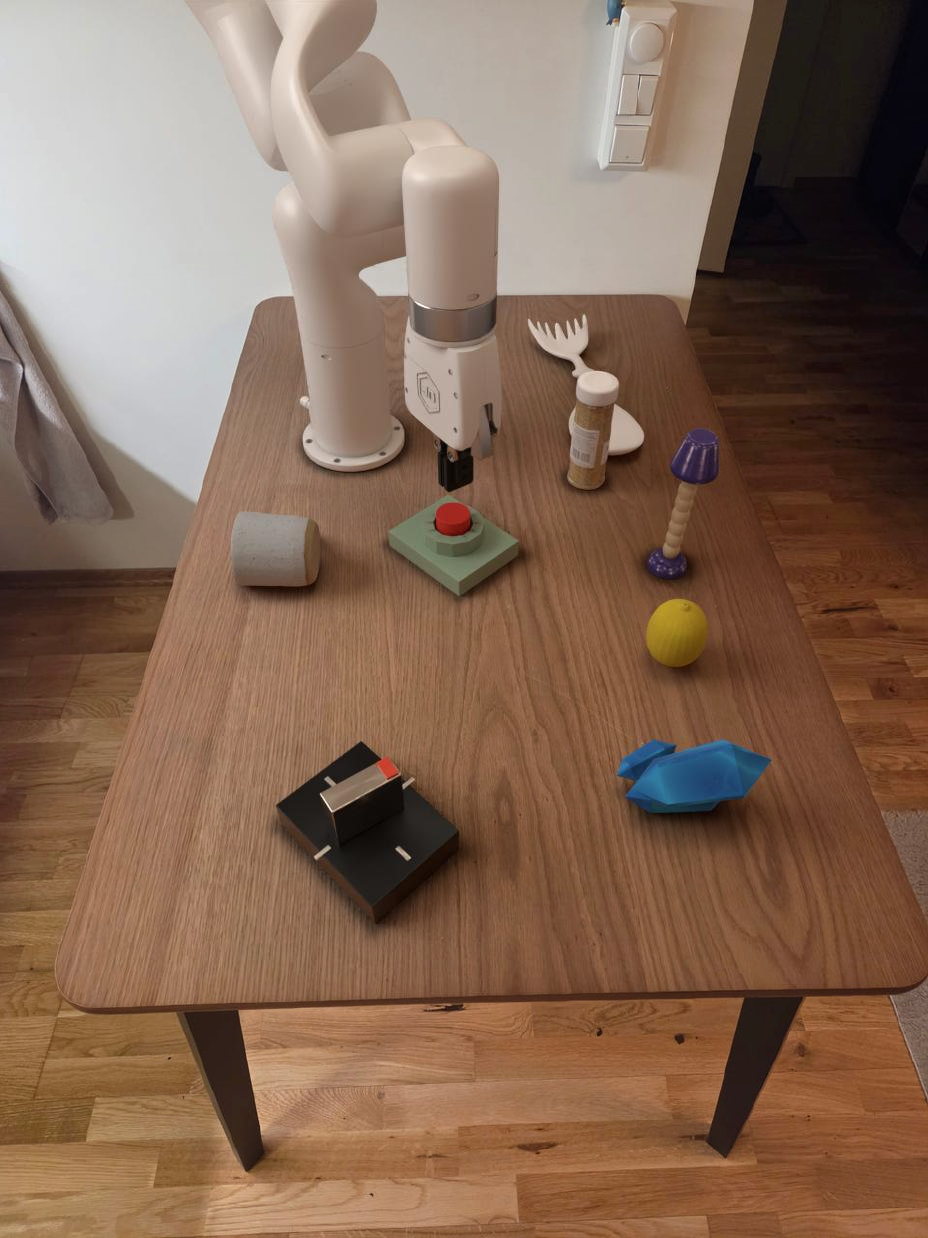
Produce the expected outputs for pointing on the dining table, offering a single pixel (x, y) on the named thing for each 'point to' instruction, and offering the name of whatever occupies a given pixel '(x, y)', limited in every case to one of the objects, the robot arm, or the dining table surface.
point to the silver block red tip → (363, 800)
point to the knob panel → (370, 839)
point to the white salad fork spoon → (623, 425)
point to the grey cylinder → (274, 549)
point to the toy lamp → (685, 497)
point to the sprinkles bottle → (592, 429)
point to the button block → (454, 548)
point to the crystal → (690, 775)
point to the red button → (453, 519)
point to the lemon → (677, 632)
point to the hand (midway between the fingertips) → (456, 483)
